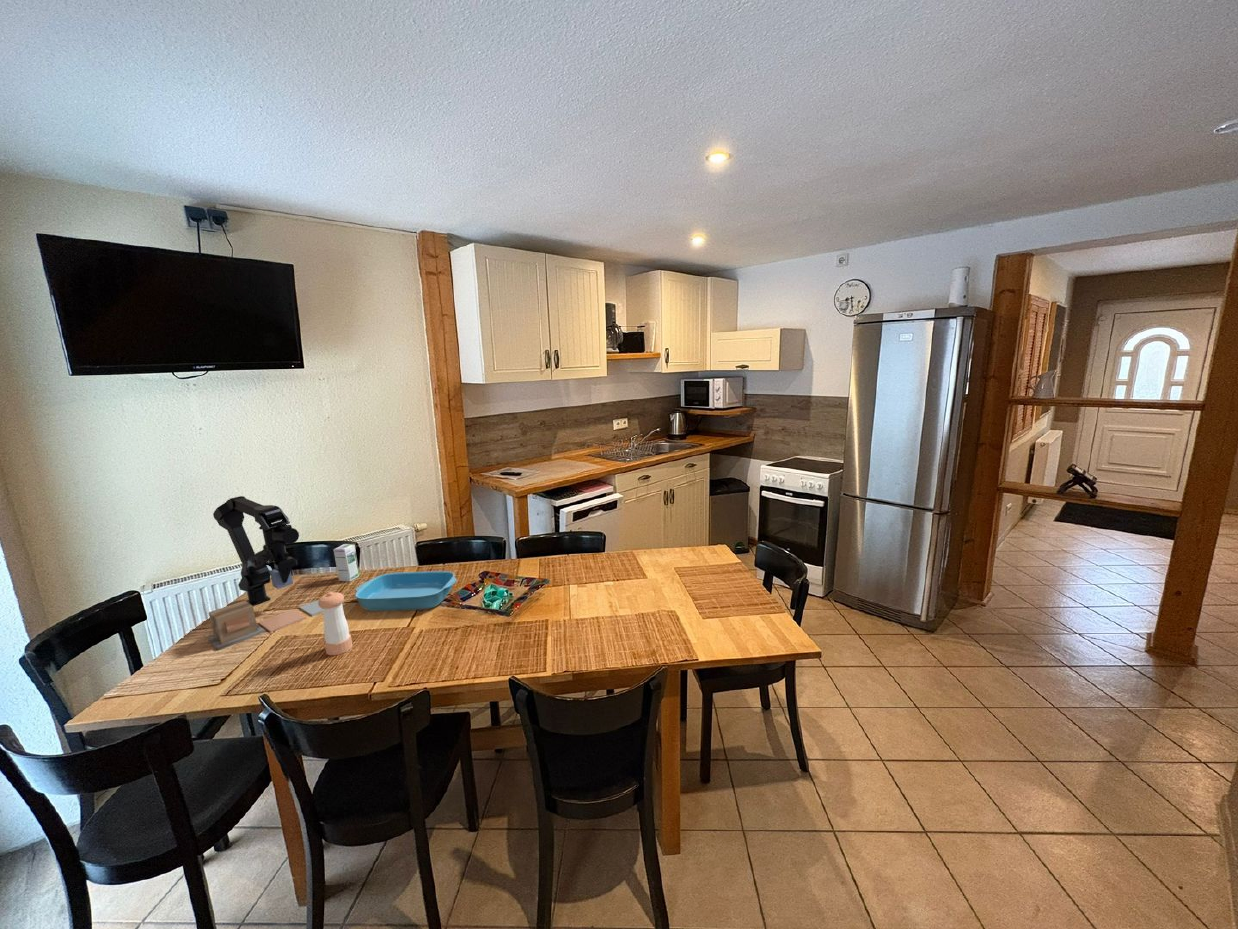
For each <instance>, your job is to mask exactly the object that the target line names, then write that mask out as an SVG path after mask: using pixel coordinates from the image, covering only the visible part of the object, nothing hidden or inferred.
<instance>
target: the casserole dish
mask: <svg viewBox="0 0 1238 929" xmlns="http://www.w3.org/2000/svg"><path fill="white" fill-rule="evenodd" d="M456 582H457V578H456V577H455V573H454V572H453V571H447V570H446V571H445V570H436V571H435V570H434V571H432V570H431V571H429V570H428V571H407V572H405V571H403V572H390V573H384V574H380V575H377V576H376V577H374V578H372V579H369V580H368V581H365V582H363V583H361V584H360V585H359V586H357V588H356V589H355V590H354V591H355V592H356V593H355V594H354V597H355V599H356V600H357V601H358V603H359V604H360V606H361V607H362V608H363V609H364V610H367V611H369V612H370V611H371V612H387V611H388V612H392V611H393V612H395V611H397V612H398V611H417V610H419V611H420V610H421V611H422V610H429V609H433V608H435V607H437V606H438V605H440V604H441V603H442V602H443V601H444V599H446V598H447V596H448V595H449V593H451V591H452V589H453V585H454V584H455V583H456Z"/></svg>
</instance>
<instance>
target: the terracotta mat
mask: <svg viewBox="0 0 1238 929" xmlns="http://www.w3.org/2000/svg"><path fill="white" fill-rule="evenodd" d="M306 619H307V616H305V615H303V614H302V613H300V612H299V611H297V610H296V609H290V610H287V611H284V612H283V613H282V612H281V613H279V614H277V615H274V616H271V617H268V618H265V619H262V620H260V621H258V625H259V626H260V625H261V626H262V628H263V629H265V630H267V631H268V632H270V633H274V632H276V631H278V630H280V629H283V628H286V627H288V626H291V625H293V624H296V623H299V622H301V621H303V620H304V621H305V620H306Z"/></svg>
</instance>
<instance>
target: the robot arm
mask: <svg viewBox="0 0 1238 929" xmlns="http://www.w3.org/2000/svg"><path fill="white" fill-rule="evenodd" d="M244 514H246V515H247V516H250V517H253V518H254V522H256V523H258V525H260V526H259V527H258V529H259V530H262V536H263V539H264V544H263V546H262V550H260V551H258V552H255V551H254V548H253V546H252V543H251V542H250V539H249V537H248V535H247V532H246V530H245V527H244V526H243V523H244V520H245V515H244ZM212 516H213V518H214V520H215V521H216V522H217V524H218V526H220V527H221V528H223V529H225V530H226V531H227V532H228V535H229V538H230V540H231V541H232V544H233V547H234V548H235V549H234V550H235V551H236V554H237V556H238V558H239V560H240V561H241V564H242V566H241V569H240V575H241V578H240V581H239V582H238V584H237V586H238V588H239V590H240V591H244V592H246V594H247V598H248V599H247V600H245V601H246V602H248V603H249V604H251V605H252V606H253V607H254V606H256V605H258V604H261V603H265V602H267V601H270V600H271V597H270V596H268V595H267V591H266V585H267V584H270V583H271V575H270V569H271V570H274V569H275V570H277V571H278V572H279V574H280V577H281V579H282V581H283V583H286V582H287V580H288V577H289V574H290V572H291V573H292V568H293V567H295V566H297V565H299V563H298V559H297V558H295V557H292V556H289V554H290V553H289V552H288V551H287V550H286V546H288V545H293V544H295V543H296V542H298V540H299V537H300V533H299V531H298V530H297V529H296V528H294V527H293V526H292V524H290V520H289V516H287V515H286V514H285V513H284V511H283V509H282V508H281V507H279V506H277V505H272V504H268V505H266V504H265V505H263V504H261V503H259V502H255V501H254V500H250V499H248V498H246V497H245V496H244V495H239V496H235V497H231V498H228V499H227V500H226V501H225V502H224V503H223V504H221V505H219V506H218V507H216V509H215V510H214V511H213V513H212ZM268 566H269V567H270V568H269V567H268Z"/></svg>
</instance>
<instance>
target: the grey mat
mask: <svg viewBox="0 0 1238 929" xmlns="http://www.w3.org/2000/svg"><path fill="white" fill-rule="evenodd" d="M318 601H319V599H316V600H314V601H311V602H309V603H305V604H304V605H300V606H299V609H300V610H302V611H303V612H305V613H306V614H308V615H310V616H312V617H313V616H316V615H319V614H323V611H322V608H320V607H319V605H318ZM342 605H344V601H343V603H342Z"/></svg>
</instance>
